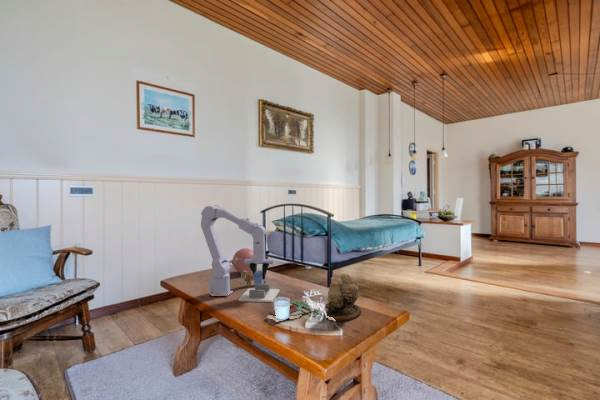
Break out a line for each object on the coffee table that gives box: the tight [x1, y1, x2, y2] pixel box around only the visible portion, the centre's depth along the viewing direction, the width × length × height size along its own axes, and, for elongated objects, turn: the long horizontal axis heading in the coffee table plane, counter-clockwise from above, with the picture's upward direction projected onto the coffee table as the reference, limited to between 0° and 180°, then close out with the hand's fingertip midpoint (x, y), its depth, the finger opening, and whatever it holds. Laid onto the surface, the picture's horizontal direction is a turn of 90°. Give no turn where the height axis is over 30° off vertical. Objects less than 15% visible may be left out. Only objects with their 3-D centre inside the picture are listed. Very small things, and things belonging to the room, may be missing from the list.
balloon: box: [228, 247, 253, 274], centre depth 185 cm, size 15×20×15 cm
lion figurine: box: [240, 270, 267, 288], centre depth 162 cm, size 15×5×9 cm, turn 123°
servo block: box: [252, 269, 266, 285], centre depth 145 cm, size 4×12×5 cm, turn 172°
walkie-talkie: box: [268, 303, 303, 316], centre depth 123 cm, size 9×4×20 cm
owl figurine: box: [324, 272, 362, 323], centre depth 122 cm, size 18×12×17 cm, turn 131°
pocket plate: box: [238, 283, 280, 303], centre depth 146 cm, size 16×16×4 cm
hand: (259, 278), depth 146 cm, fingers closed on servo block, 4 cm apart
